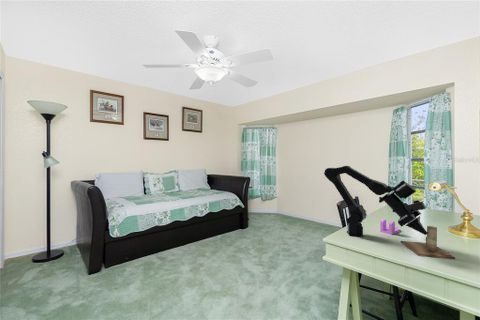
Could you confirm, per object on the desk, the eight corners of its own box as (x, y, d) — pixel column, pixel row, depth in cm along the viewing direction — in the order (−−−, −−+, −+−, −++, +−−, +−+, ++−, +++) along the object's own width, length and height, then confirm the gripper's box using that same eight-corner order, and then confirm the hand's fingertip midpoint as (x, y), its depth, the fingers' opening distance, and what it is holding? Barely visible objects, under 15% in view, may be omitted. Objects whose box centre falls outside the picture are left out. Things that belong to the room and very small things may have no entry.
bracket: (391, 235, 116) (391, 222, 116) (380, 232, 121) (380, 219, 121) (401, 230, 123) (401, 218, 123) (390, 228, 128) (390, 216, 128)
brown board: (418, 255, 91) (418, 253, 91) (400, 242, 105) (400, 240, 105) (455, 259, 88) (455, 256, 88) (432, 245, 102) (432, 243, 102)
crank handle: (425, 243, 102) (426, 221, 102) (436, 245, 99) (436, 223, 99) (426, 250, 94) (426, 227, 94) (437, 252, 91) (437, 228, 91)
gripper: (407, 195, 92) (442, 228, 84) (415, 193, 105) (446, 221, 96) (385, 210, 98) (416, 242, 89) (395, 206, 110) (423, 234, 102)
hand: (426, 234), depth 94 cm, fingers closed, pressing on crank handle
